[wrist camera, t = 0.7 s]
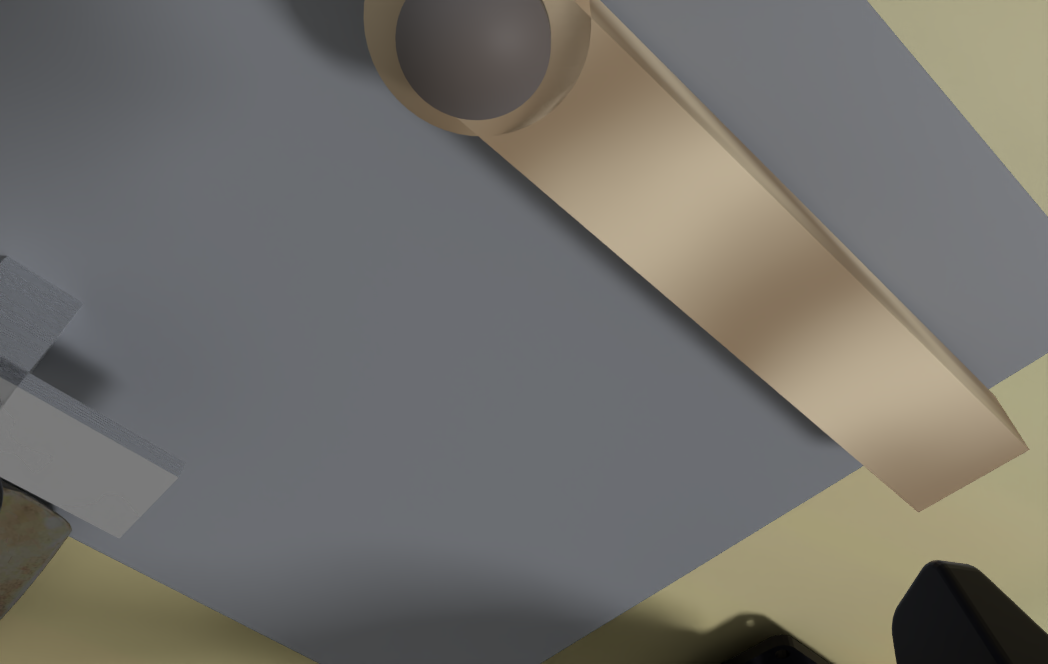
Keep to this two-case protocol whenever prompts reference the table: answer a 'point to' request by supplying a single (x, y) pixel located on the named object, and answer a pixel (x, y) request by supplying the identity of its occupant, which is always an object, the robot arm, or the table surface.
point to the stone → (25, 542)
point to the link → (697, 223)
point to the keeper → (66, 420)
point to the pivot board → (454, 311)
